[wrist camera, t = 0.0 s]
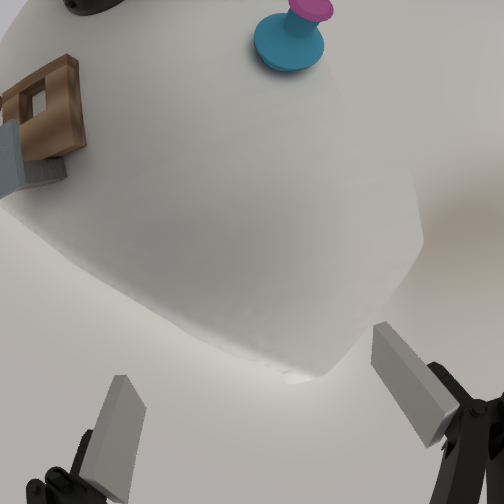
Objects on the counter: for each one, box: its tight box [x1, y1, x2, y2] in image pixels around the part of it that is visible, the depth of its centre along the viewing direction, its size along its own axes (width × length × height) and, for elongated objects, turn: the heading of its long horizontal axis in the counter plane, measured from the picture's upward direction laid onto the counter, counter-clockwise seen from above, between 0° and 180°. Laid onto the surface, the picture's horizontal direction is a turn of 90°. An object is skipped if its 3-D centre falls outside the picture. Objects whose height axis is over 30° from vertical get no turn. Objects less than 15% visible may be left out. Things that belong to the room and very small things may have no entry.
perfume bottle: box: [254, 0, 333, 71], centre depth 25 cm, size 9×9×15 cm
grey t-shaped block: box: [0, 119, 67, 199], centre depth 25 cm, size 7×12×17 cm, turn 100°
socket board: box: [2, 54, 87, 161], centre depth 29 cm, size 15×14×4 cm
